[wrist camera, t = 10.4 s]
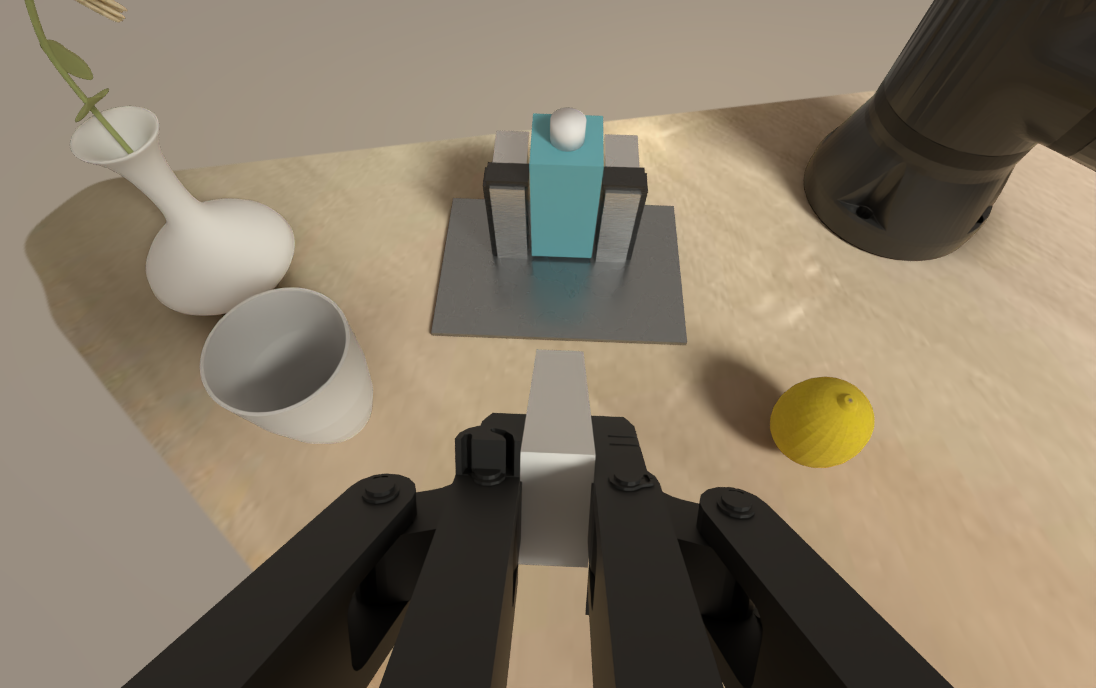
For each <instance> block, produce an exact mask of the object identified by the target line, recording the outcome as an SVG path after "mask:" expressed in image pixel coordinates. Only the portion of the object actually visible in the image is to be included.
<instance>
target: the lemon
mask: <svg viewBox="0 0 1096 688" xmlns="http://www.w3.org/2000/svg"><path fill="white" fill-rule="evenodd" d="M873 429H874V413H873V409H872V406H871V404H870V402H869V400H868V399H867V397H866V396H865V395H864V394H863V392H862V391H860V390H859V389H858V388H857V387H856V386H854V385H852V384H851V383H849V382H847V381H844V380H841V379H838V378H833V377H818V378H811V379H808V380H806V381H803V382H800V383H798V384H796V385H794V386H792V387H791V388H790V389H789V390H787V391H786V392H785V393H784V394H783V395H782V396H781V397H780V398H779V400H778V401H777V403H776V404H775V406H774V408H773V411H772V414H771V417H770V430H771V434H772V438H773V440H774V442H775V443H776V445H777V447H778V448H779V449H780V451H781V452H782V453H783V454H784V455H786V456H787V457H788V458H789V459H791V460H792V461H794V462H796V463H798V464H800V465H804V466H808V467H812V468H827V467H832V466H836V465H839V464H842V463H845V462H846V461H848V460H849V459H851V458H853V457H854V456H856V455H857V454H858V453H859V452H860V451H861V450H862V449H863V447H864V446H865V445H866V444H867V442H868V441H869V439H870V437H871V435H872V432H873Z"/></svg>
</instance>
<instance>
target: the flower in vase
mask: <svg viewBox="0 0 1096 688" xmlns="http://www.w3.org/2000/svg"><path fill="white" fill-rule="evenodd" d="M75 1H77V2H79V3H80V4H82V5H84V6H86V7H88V8H90V9H91V10H93V11H95V12H97V13H99V14H101V15H103V16H105V17H107V18H109V19H111V20H113V21H115V22H120V21H123V20H122V19H125V17H124V16H123V15H122V14H120V13H119V12H121V13H122V12H123V11H127V9H126V8H125V7H124V6H122V5H121V4H119V3H117V2H115V1H114V0H75ZM25 4H26V7H27V10H28V13H29V16H30V19H31V22H32V25H33V27H34V30H35V32H36V35H37V37H38V39H39V42H40V46H41V48H42V49H43V51H44V52H45V53H46V54H47V56H48V58H49V59H50V61H51V62H52V63H53V65H54V66H55V68H56V69H57V70H58V72H59V73H60V74H61V75H62V77H63V78H64V79H65V80H66V81H67V83H68V84H69V85H70V87H71V88H72V89H73V90H74V92H75V93H76V94H77V95H78V97H79V98H80V99H81V100H82V101H83V103H85V105H84V106H83V107H82V109H81V110H80V112H79V113H78V115H77V117H76V119H75V122H78V121H80V120H82V119H83V118H84V117H85V116H86V115H87V114H88V112H89V111H91V112H92V113H93V114H94V116H92V117H90V118H89V119H87V120H86V121H84V122H83V123H82V124H81V125H80V126H79V127H78V128H77V129H76V130H75V132H74V133H73V135H72V138H71V141H70V149H71V151H72V153H73V154H74V155H75V156H76V157H77V158H79V159H80V160H82V161H84V162H87V163H91V164H96V165H100V166H103V167H106V168H109V169H111V170H112V171H114V172H116V173H118V174H120V175H121V176H123V177H124V178H126V179H127V180H128V181H130V182H131V183H132V184H134V185H135V186H136V187H137V188H138V189H140V190H141V191H142V192H143V193H144V194H145V195H146V196H147V197H148V198H149V199H150V200H151V201H152V202H153V203H154V204H155V205H156V206H157V207H158V208H159V209H160V211H161V212H162V213H163V215H164V216H165V218H166V221H167V222H166V224H165V225H164V226H163V227H162V228H161V230H160V231H159V232H158V234H157V235H156V237H155V238H154V240H153V242H152V245H151V247H150V250H149V253H148V256H147V260H146V275H147V279H148V282H149V284H150V287H151V289H152V292H153V293H154V295H155V296H156V298H157V299H158V300H159V301H160V302H161V303H162V304H164V305H165V306H167V307H168V308H170V309H172V310H175V311H177V312H180V313H184V314H189V315H202V316H206V315H220V314H225V313H228V312H229V311H230V310H231V309H232V308H234V307H235V306H237V305H238V304H240V303H241V302H243V301H245V300H246V299H248V298H250V297H252V296H255V295H257V294H260V293H262V292H266V291H269V290H273V289H274V288H275V287H276V286H277V285H278V283H279V282H280V281H281V280H282V278H283V277H284V276H285V274H286V273H287V271H288V269H289V267H290V264H291V261H292V258H293V254H294V249H295V239H294V234H293V231H292V228H291V226H290V225H289V223H288V222H287V220H286V219H285V218H284V217H283V216H282V215H280V214H279V213H278V212H276V211H275V210H273V209H271V208H270V207H268V206H266V205H264V204H262V203H259V202H256V201H252V200H246V199H232V198H225V199H215V200H209V201H204V202H200V201H198V200H197V199H196V198H195V197H193V196H192V195H191V194H190V193H189V191H188V190H187V189H186V188H185V187H184V186H183V185H182V183H181V182H180V181H179V179H178V178H177V177H176V175H175V174H174V172H173V171H172V169H171V168H170V166H169V165H168V163H167V161H166V159H165V157H164V155H163V153H162V151H161V148H160V144H159V121H158V118H157V117H156V115H155V114H154V113H153V112H151V111H150V110H148V109H146V108H142V107H137V106H122V107H115V108H111V109H108V110H105V111H102V112H99V111H98V110H97V108H96V107H95V106H94V105H95V104H96V103H97V102H98V101H99V100H101V99H102V98H103V97H104V96H105V95H106V94H107V93H108V92H109V89H108V88H107V89H104V90H102V91H101V92H99V93H98V94H96V95H95V96H93V97H90V98H87V97H86V96H85V94H84V93H83V92H82V91H81V90H80V88H79V87H78V86H77V85H76V84H75V82H74V81H73V80H72V78H71V77H70V76H69V75H68V73H70V74H72V75H74V76H76V77H79V78H82V79H87V80H92V79H93V75H92V72H91V70H90V68H89V67H88V65H87V64H86V63H85V62H84V60H82V59H81V58H80V57H79V56H77V55H76V54H75V53H73V52H71V51H70V50H68V49H66V48H65V47H64V46H63V45H61V44H60V43H58V42H56V41H54V40H47V39H46V37H45V35H44V32H43V29H42V26H41V24H40V21H39V17H38V14H37V11H36V8H35V4H34V0H25Z"/></svg>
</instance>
